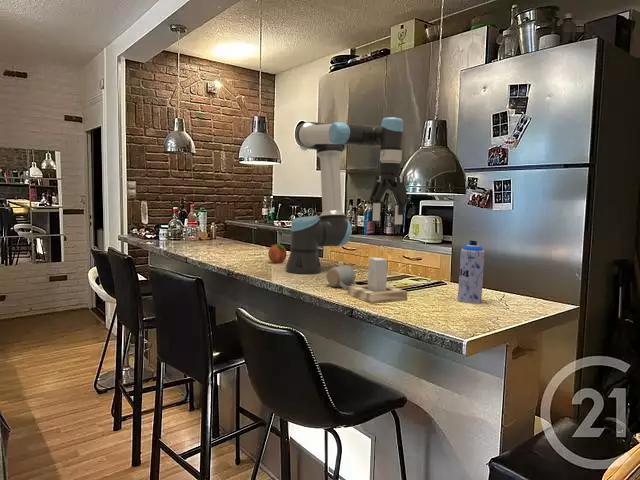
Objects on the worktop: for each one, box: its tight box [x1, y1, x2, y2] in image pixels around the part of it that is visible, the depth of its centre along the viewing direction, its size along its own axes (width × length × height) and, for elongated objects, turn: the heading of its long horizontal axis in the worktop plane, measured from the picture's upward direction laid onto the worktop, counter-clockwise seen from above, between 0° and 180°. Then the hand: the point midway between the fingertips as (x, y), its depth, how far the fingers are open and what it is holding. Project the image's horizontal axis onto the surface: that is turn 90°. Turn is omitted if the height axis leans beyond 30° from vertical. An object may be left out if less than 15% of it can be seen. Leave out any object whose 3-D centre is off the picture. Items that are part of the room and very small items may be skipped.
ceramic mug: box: [326, 264, 357, 290], centre depth 171 cm, size 11×8×8 cm
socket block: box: [347, 284, 408, 304], centre depth 157 cm, size 14×14×3 cm
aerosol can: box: [456, 240, 485, 305], centre depth 155 cm, size 8×8×20 cm
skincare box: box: [367, 257, 389, 292], centre depth 157 cm, size 6×4×12 cm
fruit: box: [268, 241, 287, 264], centre depth 224 cm, size 9×10×10 cm
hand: (386, 222), depth 170 cm, fingers open, 13 cm apart
